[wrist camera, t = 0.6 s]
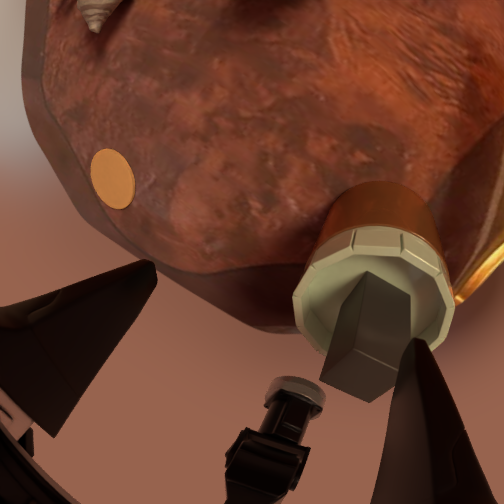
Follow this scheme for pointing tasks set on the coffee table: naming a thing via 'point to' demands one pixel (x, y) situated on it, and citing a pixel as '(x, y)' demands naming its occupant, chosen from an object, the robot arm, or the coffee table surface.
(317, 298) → the jar
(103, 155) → the coaster
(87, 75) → the coffee table surface
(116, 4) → the seashell
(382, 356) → the block
